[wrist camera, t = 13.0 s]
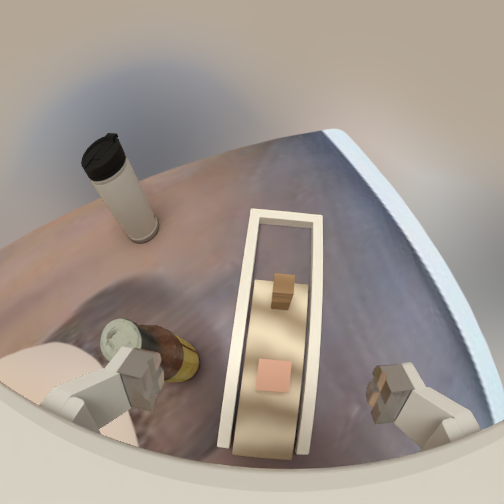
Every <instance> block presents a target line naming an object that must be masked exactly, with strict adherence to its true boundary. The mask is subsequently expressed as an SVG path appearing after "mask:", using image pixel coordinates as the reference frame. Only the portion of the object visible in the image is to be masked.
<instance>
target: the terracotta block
mask: <svg viewBox="0 0 504 504" xmlns="http://www.w3.org/2000/svg"><path fill="white" fill-rule="evenodd" d="M291 365H292V361H282V360H270V359H260V358H259V365H258V373H257V381H256V389H255V390H262V391H273V392H286V393H289V384H290V375H291Z"/></svg>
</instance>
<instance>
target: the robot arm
mask: <svg viewBox="0 0 504 504" xmlns="http://www.w3.org/2000/svg"><path fill="white" fill-rule="evenodd" d="M161 361H162V360H161V356H160V354H159V353H158V352H153V351H148V350H144V349H139V348H134V347H130V346H125V345H124V346H122V347H121V348H120V349H119V350H118V352H117V353H116V354H115V356H114V357H113V358H112V360H111V361H110V362H109V364H108V365H107V366H106V367H105V369H102V368H100V369H98V370H96V371H93V372H91V373H88V374H86V375H83V376H81V377H79V378H76V379H74V380H71V381H68V382H66V383H63V384H61V385H58V386H55V387H54V388H53V389H52V390H51V392H50V393H49V394H48V395H47V396H46V398H45V399H44V400H43V401H42V402H41V404H40V405H37V404H35V403H34V402H32V401H30V400H28V399H27V398H25V397H24V396H22V395H20V394H19V393H17V392H15V391H14V390H12V389H11V388H9V387H7V386H6V385H5V384H3V383H2V382H1V381H0V504H504V420H503V421H501V422H499V423H497V424H494V425H492V426H490V427H488V428H486V429H484V430H481V428H480V427H479V425H478V423H477V421H476V420H475V418H474V416H473V415H472V413H471V411H470V410H468V409H466V408H464V407H462V406H461V405H459V404H457V403H456V402H454V401H452V400H450V399H449V398H447V397H445V396H443V395H442V394H440V393H438V392H437V391H435V390H433V389H431V388H430V387H428V388H426V386H425V384H424V383H423V381H422V379H421V378H420V376H419V374H418V373H417V371H416V369H415V368H414V366H413V364H412V363H410V362H408V363H400V364H392V365H379V366H376V367H375V368H374V371H373V373H372V374H373V376H374V378H373V379H372V380H371V381H370V382H369V384H368V386H367V392H366V397H367V402H368V404H369V405H370V406H371V407H373V409H372V411H371V414H372V417H373V420H374V423H375V424H383V423H391V422H394V424H395V425H397V426H398V427H399V428H400V429H401V430H402V431H403V432H404V433H405V434H406V435H407V436H409V437H410V438H411V439H412V440H413V441H414V442H415V443H416V444H417V445H418V446H420V447H421V448H422V449H421V450H420V451H419V452H418V453H414V454H410V455H406V456H401V457H397V458H392V459H387V460H382V461H377V462H371V463H364V464H357V465H349V466H340V467H329V468H312V469H266V468H249V467H238V466H228V465H220V464H213V463H206V462H200V461H195V460H189V459H184V458H179V457H175V456H170V455H166V454H162V453H158V452H154V451H150V450H147V449H143V448H140V447H136V446H133V445H130V444H127V443H124V442H121V441H118V440H115V439H112V438H109V437H107V436H104V435H101V433H100V431H99V429H100V428H102V427H103V426H105V425H106V424H108V423H109V422H111V421H113V420H114V419H115V418H117V417H119V416H120V415H122V414H123V413H125V412H126V411H128V410H129V409H130V408H131V407H133V408H138V409H142V410H146V411H152V409H153V407H154V405H155V403H156V400H157V399H156V394H158V393H159V392H161V390H162V387H163V383H164V371H163V369H162V368H161V367H160V366H159V365H160V363H161Z"/></svg>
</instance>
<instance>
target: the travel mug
mask: <svg viewBox="0 0 504 504" xmlns="http://www.w3.org/2000/svg"><path fill="white" fill-rule="evenodd" d="M117 137H118V135H117V134H114V133H108V134H107V135H106V136H105V137H102V138H100V139H98V140H97V141H95V142H94V143H93V144H92V145H91V146H90V147H89V148H88V149H87V150H86V152H85V153H84V155H83V158H82V162H81V164H82V167H83V168H84V170H85V172H86V173H87V175H88V177H89V179H90V181H91V182H92V184H93V185H94V187H95V188H96V190H97V191H98V193H99V195H100V196H101V198H102V199H103V201H104V202H105V204H106V205H107V207H108V208H109V210H110V211H111V212H112V214H113V215H114V217H115V218H116V220H117V221H118V223H119V224H120V225H121V227H122V228H123V230H124V231H125V232H126V234H127V235H128V236H129V238H130V239H131V240H132V241H133V242H136V243H144V242H147V241H149V240H150V239H152V238H153V237H154V236H155V235H156V233H157V231H158V228H159V222H158V219H157V218H156V216H155V214H154V212H153V210H152V208H151V206H150V204H149V202H148V200H147V198H146V196H145V194H144V192H143V190H142V188H141V186H140V184H139V182H138V180H137V178H136V175H135V173H134V171H133V169H132V167H131V165H130V163H129V161H128V158H127V157H126V154H125V153H124V151H123V148H122V146H121V144H120V142H119V139H118V138H117Z"/></svg>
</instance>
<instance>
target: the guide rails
mask: <svg viewBox="0 0 504 504" xmlns="http://www.w3.org/2000/svg"><path fill="white" fill-rule="evenodd" d="M259 224H268V225H279V226H290V227H300V228H310V229H311V272H310V297H309V317H308V332H307V346H306V359H305V370H304V381H303V391H302V400H301V409H300V417H299V425H298V433H297V440H296V447H295V452H296V454H304V455H309V448H310V441H311V434H312V426H313V418H314V410H315V401H316V391H317V380H318V368H319V355H320V339H321V319H322V289H323V222H322V215H314V214H304V213H294V212H284V211H273V210H261V209H251V213H250V219H249V226H248V232H247V239H246V246H245V252H244V259H243V266H242V272H241V279H240V286H239V293H238V299H237V306H236V313H235V320H234V327H233V334H232V341H231V348H230V355H229V362H228V369H227V376H226V383H225V390H224V397H223V404H222V412H221V419H220V426H219V434H218V441H217V447H223V448H229V447H230V444H231V436H232V429H233V422H234V414H235V407H236V399H237V392H238V385H239V377H240V370H241V362H242V355H243V347H244V340H245V332H246V324H247V317H248V309H249V302H250V294H251V286H252V278H253V271H254V263H255V255H256V248H257V240H258V232H259Z"/></svg>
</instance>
